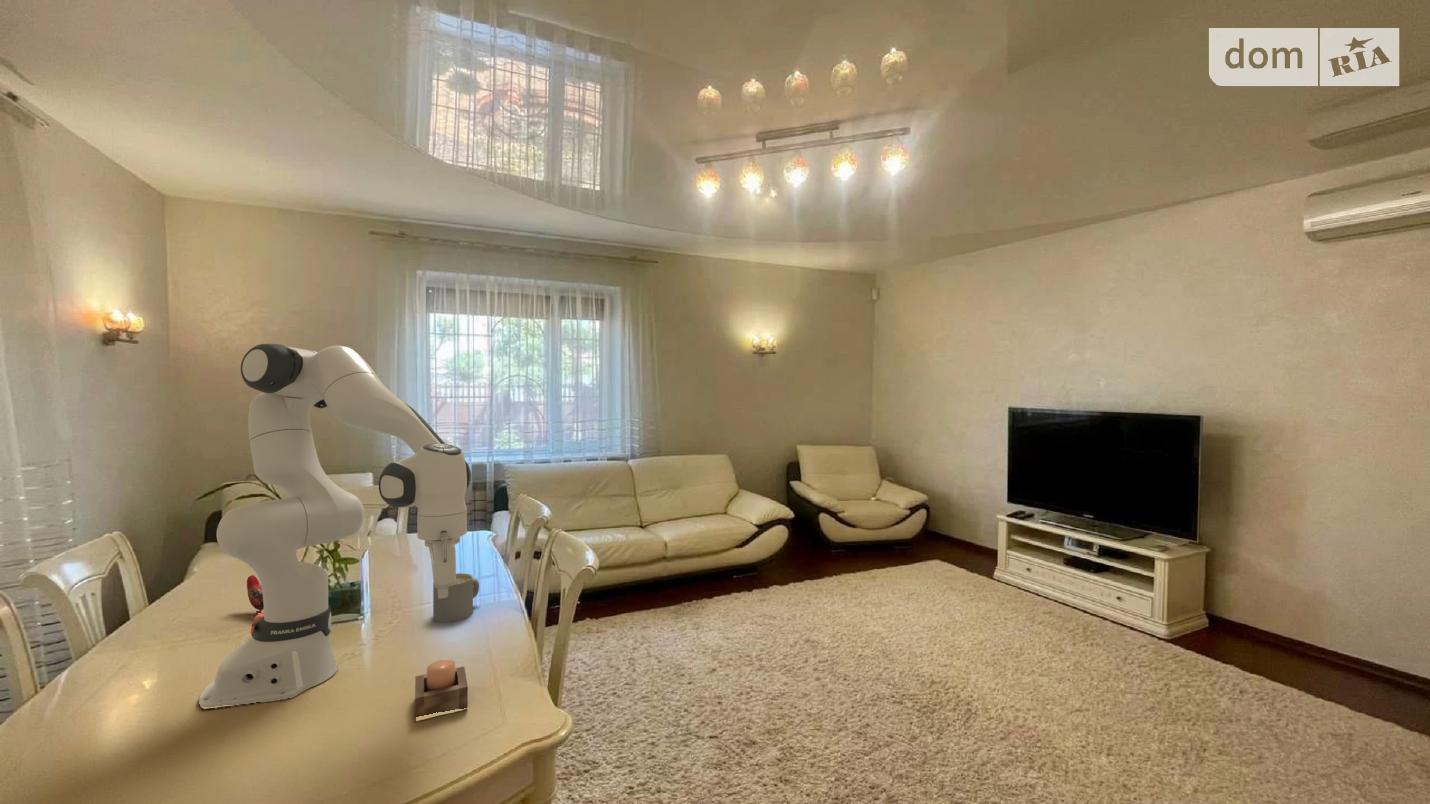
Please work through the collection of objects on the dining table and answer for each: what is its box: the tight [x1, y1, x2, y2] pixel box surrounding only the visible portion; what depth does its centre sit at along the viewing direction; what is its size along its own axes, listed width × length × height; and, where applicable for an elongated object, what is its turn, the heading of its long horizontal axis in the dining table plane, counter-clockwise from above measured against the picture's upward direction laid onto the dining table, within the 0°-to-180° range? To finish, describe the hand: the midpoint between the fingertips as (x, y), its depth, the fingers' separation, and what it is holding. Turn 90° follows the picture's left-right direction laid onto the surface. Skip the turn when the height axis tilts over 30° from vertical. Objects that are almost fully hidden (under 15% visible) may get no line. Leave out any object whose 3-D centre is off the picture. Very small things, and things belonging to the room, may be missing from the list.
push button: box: [426, 659, 456, 691], centre depth 109 cm, size 5×5×4 cm
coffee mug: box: [432, 572, 480, 623], centre depth 154 cm, size 13×10×10 cm
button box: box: [414, 666, 469, 718], centre depth 109 cm, size 9×9×4 cm
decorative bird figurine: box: [246, 574, 264, 614], centre depth 151 cm, size 3×18×10 cm, turn 59°
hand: (442, 595), depth 109 cm, fingers closed
